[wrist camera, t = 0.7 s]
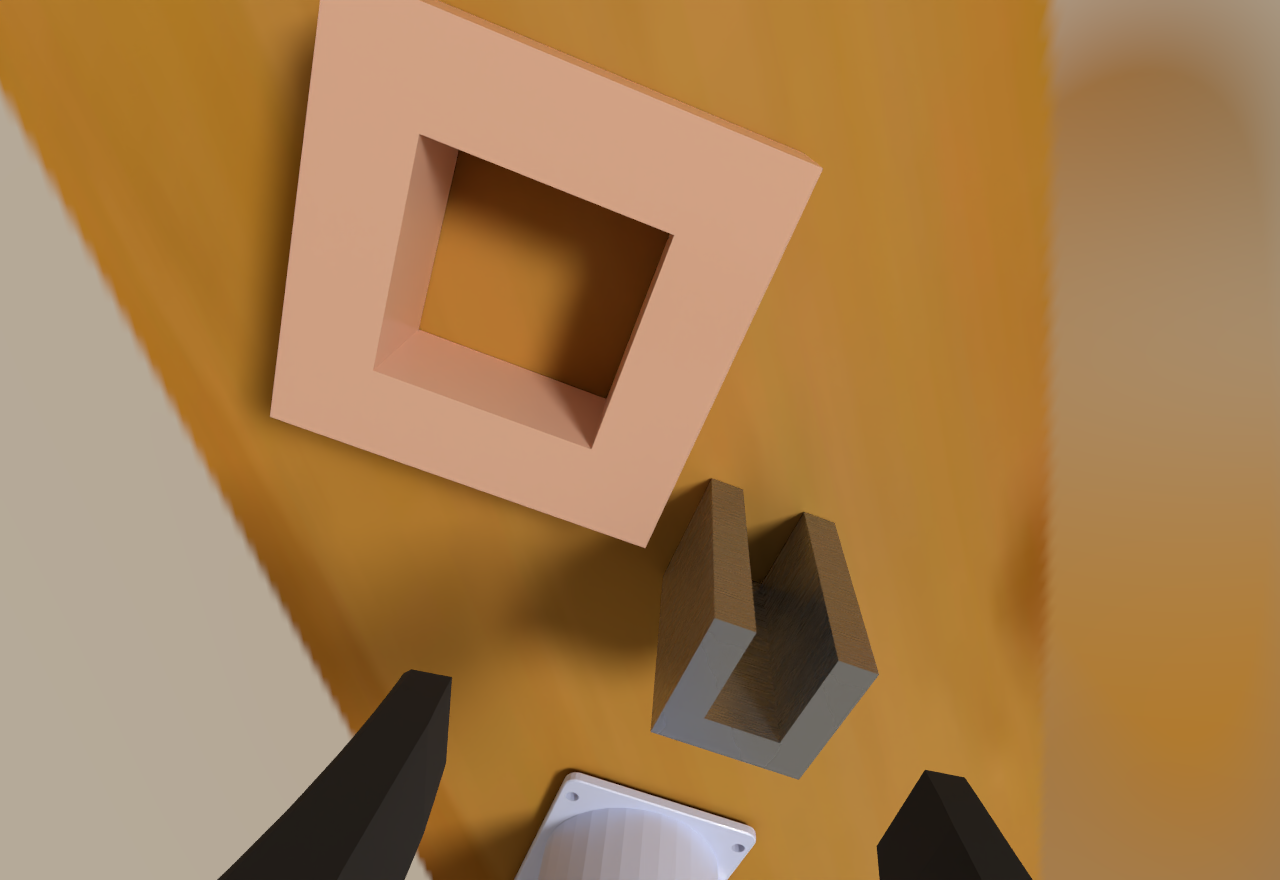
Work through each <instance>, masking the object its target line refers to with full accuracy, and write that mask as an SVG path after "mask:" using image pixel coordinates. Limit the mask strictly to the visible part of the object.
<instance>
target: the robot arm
mask: <svg viewBox="0 0 1280 880" xmlns="http://www.w3.org/2000/svg"><path fill="white" fill-rule="evenodd" d="M451 683H452V677H448V676H443V675H437V674H432V673H427V672H422V671H417V670H412V669H411V670H409V671H407V672H405V673H404V674H403V675H402V676H401V678H400V679H399V680H398V682H397V683H396V685H395V686H394V687H393V689H392V690H391V691H390V693H389V694H388V695H387V696H386V698H385V699H384V700H383V701H382V703H381V704H380V705H379V707H378V708H377V709H376V710H375V712H374V713H373V714H372V715H371V716H370V718H369V719H368V720H367V721H366V723H365V724H364V725H363V726H362V727H361V729H360V730H359V731H358V732H357V733H356V734H355V736H354V737H353V738H352V739H351V740H350V741H349V743H348V744H347V745H346V746H345V747H344V748H343V750H342V751H341V752H340V753H339V754H338V755H337V757H336V758H335V759H334V760H333V761H332V762H331V763H330V764H329V765H328V766H327V767H326V769H325V770H324V771H323V772H322V773H321V774H320V775H319V776H318V777H317V779H315V781H314V782H313V783H312V784H311V785H310V786H309V787H308V788H307V789H306V790H305V792H304V793H303V794H302V795H301V796H300V797H299V798H298V799H297V800H296V801H295V803H294V804H293V805H292V806H291V807H290V808H289V809H288V810H287V811H286V812H285V813H284V814H283V815H282V816H281V817H280V818H279V819H278V820H277V821H276V822H275V823H274V824H273V825H272V826H271V827H270V828H269V829H268V830H267V831H266V832H265V833H264V834H263V835H262V836H261V837H260V838H259V839H258V840H257V841H256V842H255V843H254V844H253V845H252V846H251V847H250V848H249V849H248V850H247V851H246V852H245V853H244V854H243V855H242V856H241V857H240V858H239V859H238V860H237V861H236V862H235V863H234V864H233V865H232V866H231V867H230V868H229V869H228V870H227V871H226V872H225V873H224V874H223V875H222V876H221V877H220V878H219V879H218V880H404V879H405V877H406V875H407V872H408V870H409V868H410V865H411V863H412V860H413V858H414V856H415V853H416V851H417V848H418V846H419V844H420V841H421V839H422V836H423V834H424V831H425V828H426V824H427V821H428V818H429V815H430V812H431V809H432V806H433V803H434V800H435V796H436V793H437V790H438V787H439V784H440V780H441V777H442V774H443V771H444V768H445V764H446V754H447V740H448V726H449V711H450V697H451ZM755 842H756V833H755V830H754V829H753V828H752V827H750V826H748V825H745V824H742V823H739V822H736V821H732V820H729V819H726V818H723V817H720V816H716V815H713V814H710V813H707V812H704V811H701V810H697V809H694V808H691V807H688V806H685V805H682V804H678V803H675V802H672V801H669V800H666V799H662V798H659V797H656V796H653V795H650V794H647V793H643V792H640V791H637V790H634V789H631V788H627V787H624V786H621V785H618V784H615V783H612V782H608V781H605V780H602V779H599V778H596V777H592V776H589V775H586V774H583V773H579V772H573V773H570V774H568V775H567V776H566V777H565V779H564V781H563V783H562V785H561V787H560V789H559V791H558V793H557V795H556V797H555V799H554V801H553V803H552V805H551V807H550V809H549V811H548V813H547V815H546V817H545V819H544V821H543V823H542V825H541V827H540V829H539V831H538V833H537V835H536V837H535V839H534V841H533V843H532V845H531V847H530V849H529V851H528V853H527V855H526V857H525V859H524V861H523V863H522V865H521V867H520V869H519V871H518V873H517V875H516V877H515V879H514V880H727V879H728V878H729V877H730V875H731V874H732V873H733V872H734V870H735V869H736V868H737V866H738V865H739V864H740V862H741V861H742V860H743V859H744V857H745V856H746V855H747V853H748V852H749V851H750V849H751V848H752V847H753V845H754V844H755ZM877 854H878V866H879V877H880V880H1032V878H1031V877H1030V875H1029V874H1028V872H1027V871H1026V869H1025V868H1024V866H1023V865H1022V863H1021V862H1020V860H1019V859H1018V857H1017V856H1016V854H1015V853H1014V851H1013V850H1012V848H1011V847H1010V845H1009V844H1008V842H1007V841H1006V839H1005V838H1004V836H1003V835H1002V833H1001V832H1000V830H999V828H998V827H997V825H996V824H995V822H994V821H993V819H992V818H991V816H990V815H989V813H988V812H987V810H986V809H985V807H984V806H983V804H982V803H981V801H980V800H979V798H978V797H977V795H976V794H975V792H974V791H973V789H972V788H971V786H970V785H969V783H968V782H967V780H966V779H965V778H964V777H959V776H954V775H949V774H944V773H939V772H933V771H928V770H925V771H924V772H923V774H922V775H921V777H920V779H919V780H918V782H917V783H916V785H915V787H914V788H913V790H912V791H911V793H910V794H909V796H908V798H907V799H906V801H905V802H904V804H903V806H902V807H901V809H900V810H899V812H898V813H897V815H896V817H895V818H894V820H893V821H892V823H891V825H890V826H889V828H888V829H887V831H886V832H885V834H884V836H883V837H882V839H881V840H880V842H879V844H878V845H877Z"/></svg>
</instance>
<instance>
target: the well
mask: <svg viewBox="0 0 1280 880" xmlns="http://www.w3.org/2000/svg"><path fill="white" fill-rule="evenodd" d="M459 150H461V151H464V152H466V153H469V154H471V155H474V156H476V157H479V158H481V159H484V160H486V161H489V162H491V163H494V164H496V165H499V166H501V167H504V168H507V169H509V170H512V171H514V172H517V173H519V174H522V175H524V176H527V177H529V178H532V179H534V180H537V181H539V182H542V183H544V184H547V185H549V186H552V187H554V188H557V189H559V190H562V191H564V192H567V193H569V194H572V195H574V196H577V197H579V198H582V199H584V200H587V201H590V202H592V203H595V204H597V205H600V206H602V207H605V208H607V209H610V210H612V211H615V212H617V213H620V214H622V215H625V216H627V217H630V218H632V219H635V220H637V221H640V222H642V223H645V224H647V225H650V226H652V227H655V228H657V229H660V230H662V231H665V232H667V233H670V234H669V237H668V240H667V242H666V245H665V248H664V250H663V253H662V255H661V258H660V261H659V263H658V266H657V268H656V271H655V274H654V276H653V279H652V281H651V284H650V287H649V289H648V292H647V295H646V297H645V300H644V302H643V305H642V308H641V310H640V313H639V315H638V318H637V321H636V323H635V326H634V328H633V331H632V334H631V336H630V339H629V342H628V344H627V347H626V349H625V352H624V355H623V357H622V360H621V362H620V365H619V368H618V370H617V373H616V375H615V378H614V381H613V383H612V386H611V388H610V391H609V394H608V396H607V399H605V398H602V397H600V396H597V395H594V394H592V393H589V392H586V391H583V390H581V389H578V388H575V387H573V386H570V385H567V384H565V383H562V382H559V381H556V380H554V379H551V378H548V377H546V376H543V375H540V374H538V373H535V372H532V371H529V370H527V369H524V368H521V367H519V366H516V365H513V364H511V363H508V362H505V361H502V360H500V359H497V358H494V357H492V356H489V355H486V354H483V353H481V352H478V351H475V350H473V349H470V348H467V347H465V346H462V345H459V344H456V343H454V342H451V341H448V340H446V339H443V338H440V337H438V336H435V335H432V334H429V333H427V332H424V331H421V330H419V326H420V321H421V317H422V312H423V308H424V303H425V299H426V294H427V290H428V285H429V281H430V276H431V272H432V268H433V263H434V259H435V254H436V250H437V245H438V241H439V236H440V232H441V227H442V223H443V218H444V214H445V209H446V205H447V200H448V196H449V192H450V187H451V183H452V178H453V174H454V169H455V165H456V160H457V156H458V151H459ZM822 170H823V168H822V167H821V166H819V165H818V164H817V163H816V162H814V161H813V160H812V159H811V158H809V157H808V156H807V155H805V154H804V153H802V152H800V151H797V150H795V149H793V148H790V147H788V146H786V145H783V144H781V143H778V142H776V141H774V140H771V139H769V138H766V137H764V136H762V135H759V134H757V133H754V132H752V131H750V130H747V129H745V128H742V127H740V126H738V125H735V124H733V123H730V122H728V121H726V120H723V119H721V118H718V117H716V116H714V115H711V114H709V113H706V112H704V111H702V110H699V109H697V108H695V107H692V106H690V105H687V104H685V103H683V102H680V101H678V100H675V99H673V98H671V97H668V96H666V95H663V94H661V93H659V92H656V91H654V90H651V89H649V88H647V87H644V86H642V85H639V84H637V83H635V82H632V81H630V80H627V79H625V78H623V77H620V76H618V75H615V74H613V73H611V72H608V71H606V70H603V69H601V68H599V67H596V66H594V65H592V64H589V63H587V62H584V61H582V60H580V59H577V58H575V57H572V56H570V55H568V54H565V53H563V52H560V51H558V50H556V49H553V48H551V47H548V46H546V45H544V44H541V43H539V42H536V41H534V40H532V39H529V38H527V37H524V36H522V35H520V34H517V33H515V32H512V31H510V30H508V29H505V28H503V27H501V26H498V25H496V24H493V23H491V22H489V21H486V20H484V19H481V18H479V17H477V16H474V15H472V14H469V13H467V12H465V11H462V10H460V9H457V8H455V7H453V6H450V5H448V4H445V3H443V2H441V1H438V0H320V6H319V14H318V23H317V31H316V39H315V48H314V56H313V64H312V72H311V81H310V89H309V97H308V106H307V114H306V122H305V130H304V139H303V147H302V155H301V164H300V172H299V180H298V188H297V197H296V205H295V213H294V222H293V230H292V238H291V246H290V255H289V263H288V271H287V280H286V288H285V296H284V304H283V313H282V321H281V329H280V338H279V346H278V354H277V362H276V371H275V379H274V387H273V395H272V404H271V412H270V417H272V418H275V419H278V420H281V421H283V422H286V423H289V424H292V425H295V426H298V427H301V428H303V429H306V430H309V431H312V432H315V433H318V434H321V435H323V436H326V437H329V438H332V439H335V440H338V441H341V442H343V443H346V444H349V445H352V446H355V447H358V448H361V449H363V450H366V451H369V452H372V453H375V454H378V455H381V456H383V457H386V458H389V459H392V460H395V461H398V462H401V463H403V464H406V465H409V466H412V467H415V468H418V469H421V470H423V471H426V472H429V473H432V474H435V475H438V476H440V477H443V478H446V479H449V480H452V481H455V482H458V483H460V484H463V485H466V486H469V487H472V488H475V489H478V490H480V491H483V492H486V493H489V494H492V495H495V496H498V497H500V498H503V499H506V500H509V501H512V502H515V503H518V504H520V505H523V506H526V507H529V508H532V509H535V510H538V511H540V512H543V513H546V514H549V515H552V516H555V517H558V518H560V519H563V520H566V521H569V522H572V523H575V524H578V525H580V526H583V527H586V528H589V529H592V530H595V531H598V532H600V533H603V534H606V535H609V536H612V537H615V538H618V539H620V540H623V541H626V542H629V543H632V544H635V545H638V546H640V547H643V548H646V546H647V543H648V541H649V539H650V537H651V535H652V533H653V531H654V528H655V526H656V524H657V522H658V520H659V518H660V516H661V514H662V511H663V509H664V507H665V505H666V503H667V501H668V499H669V496H670V494H671V492H672V490H673V488H674V486H675V484H676V481H677V479H678V477H679V475H680V473H681V471H682V469H683V467H684V464H685V462H686V460H687V458H688V456H689V454H690V452H691V449H692V447H693V445H694V443H695V441H696V439H697V437H698V435H699V432H700V430H701V428H702V426H703V424H704V422H705V420H706V417H707V415H708V413H709V411H710V409H711V407H712V405H713V402H714V400H715V398H716V396H717V394H718V392H719V390H720V388H721V385H722V383H723V381H724V379H725V377H726V375H727V373H728V370H729V368H730V366H731V364H732V362H733V360H734V358H735V356H736V353H737V351H738V349H739V347H740V345H741V343H742V341H743V338H744V336H745V334H746V332H747V330H748V328H749V326H750V323H751V321H752V319H753V317H754V315H755V313H756V311H757V309H758V306H759V304H760V302H761V300H762V298H763V296H764V294H765V291H766V289H767V287H768V285H769V283H770V281H771V279H772V277H773V274H774V272H775V270H776V268H777V266H778V264H779V262H780V259H781V257H782V255H783V253H784V251H785V249H786V247H787V244H788V242H789V240H790V238H791V236H792V234H793V232H794V230H795V227H796V225H797V223H798V221H799V219H800V217H801V215H802V212H803V210H804V208H805V206H806V204H807V202H808V200H809V198H810V195H811V193H812V191H813V189H814V187H815V185H816V183H817V180H818V178H819V176H820V174H821V172H822Z"/></svg>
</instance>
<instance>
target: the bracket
mask: <svg viewBox="0 0 1280 880" xmlns="http://www.w3.org/2000/svg"><path fill="white" fill-rule="evenodd" d="M878 675H879V674H878V670H877V667H876V663H875V660H874V656H873V653H872V650H871V646H870V643H869V639H868V636H867V633H866V629H865V626H864V622H863V619H862V615H861V612H860V609H859V605H858V602H857V598H856V595H855V591H854V588H853V585H852V581H851V578H850V574H849V571H848V568H847V564H846V561H845V557H844V554H843V550H842V547H841V544H840V540H839V537H838V533H837V530H836V526H835V523H833V522H830V521H827V520H824V519H822V518H819V517H816V516H813V515H811V514H808V513H805V512H804V513H803V515H802V517H801V519H800V520H799V522H798V524H797V525H796V527H795V529H794V530H793V532H792V534H791V535H790V537H789V539H788V541H787V542H786V544H785V546H784V547H783V549H782V551H781V552H780V554H779V556H778V557H777V559H776V561H775V563H774V564H773V566H772V568H771V569H770V571H769V573H768V574H767V576H766V578H765V579H764V581H763V583H762V584H759V583H757V582H754V581H752V580H751V569H750V559H749V548H748V538H747V527H746V517H745V506H744V496H743V490H742V489H739V488H737V487H734V486H731V485H728V484H726V483H723V482H720V481H717V480H715V479H711V481H710V483H709V485H708V487H707V489H706V491H705V493H704V495H703V497H702V499H701V501H700V503H699V505H698V507H697V509H696V511H695V513H694V515H693V517H692V519H691V521H690V523H689V525H688V527H687V529H686V532H685V534H684V536H683V538H682V540H681V542H680V544H679V546H678V548H677V550H676V552H675V554H674V556H673V558H672V560H671V562H670V564H669V566H668V568H667V570H666V572H665V574H664V576H663V584H662V596H661V609H660V621H659V634H658V646H657V659H656V671H655V684H654V696H653V709H652V721H651V732H653V733H656V734H659V735H663V736H666V737H669V738H672V739H675V740H678V741H681V742H684V743H687V744H690V745H693V746H697V747H700V748H703V749H706V750H709V751H712V752H715V753H718V754H721V755H724V756H727V757H730V758H734V759H737V760H740V761H743V762H746V763H749V764H752V765H755V766H758V767H761V768H764V769H767V770H771V771H774V772H777V773H780V774H783V775H786V776H789V777H792V778H795V779H798V780H799V779H800V777H801V776H802V775H803V773H804V772H805V771H806V770H807V768H808V767H809V766H810V764H811V763H812V762H813V760H814V759H815V758H816V756H817V755H818V754H819V752H820V751H821V750H822V749H823V747H824V746H825V745H826V743H827V742H828V741H829V739H830V738H831V737H832V735H833V734H834V733H835V731H836V730H837V729H838V728H839V726H840V725H841V724H842V722H843V721H844V720H845V718H846V717H847V716H848V714H849V713H850V712H851V710H852V709H853V708H854V706H855V705H856V704H857V703H858V701H859V700H860V699H861V697H862V696H863V695H864V693H865V692H866V691H867V689H868V688H869V687H870V685H871V684H872V683H873V682H874V680H875V679H876V678H877V676H878Z"/></svg>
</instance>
